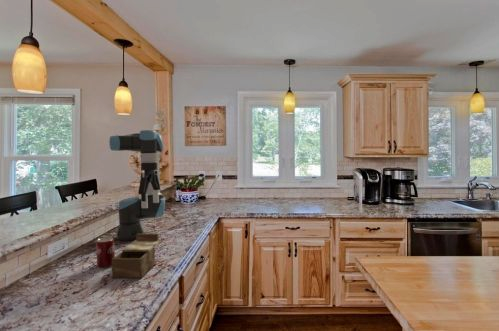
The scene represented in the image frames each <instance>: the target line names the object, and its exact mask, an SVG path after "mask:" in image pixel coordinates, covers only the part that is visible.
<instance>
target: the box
mask: <svg viewBox="0 0 499 331" xmlns="http://www.w3.org/2000/svg"><path fill="white" fill-rule="evenodd" d="M155 254H156V253H155V247H154V248H152V249H151V250H150V251H149V252H122V251H121V252H119V253H118V254H116V255H115V257H114V258H113V259H112V267H111V270H112V271H111V272H112V274H111V275H112V279H116V280H117V279H120V280H121V279H124V280H125V279H127V280H130V279H131V280H134V279H135V280H136V279H137V280H138V279H139V280H142V279H143V278H144V277H145V276H146V275H147V274H148V273H149V272H150V271H151V270H152V269H153V268H154V267H155V266H156V261H155V260H156V259H155V258H156V257H155V256H156V255H155Z"/></svg>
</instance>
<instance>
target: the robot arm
mask: <svg viewBox="0 0 499 331" xmlns="http://www.w3.org/2000/svg"><path fill="white" fill-rule="evenodd" d="M108 140H109V149H110V150H111V151H115V152H117V151H118V152H119V151H121V152H122V151H128V152H129V151H130V152H137V153H139V152H140V155H139V158H140V162H141V163H140V170H141V171H143V172H141V173H140V181H139V186H138V187H139V188H138V192H137V193H138V195H140V197H138V196H136V197H135V196H133V197H127V198H124V199H122V200H120V201H119V202H118V209H117V210H118V222H119V223H118V224H119V226H118V229H117V232H116V240H118V241H133V240H134V241H135V240H136V234H145V233H144V232H145V231H144V229H143V227H142V224H141V219H157V218H162V217H164V216H165V206H166V197H164V195H163V193H161V181H160V180H161V178H160V176H161V175H160V174H161V173H160V156H161V154H162V152H163V151H164V145H163V144H164V143H163V139H162V135H161V134H160V133H157V132H156V130H154V129H153V130H151V129H148V130H147V129H144V130H140V131H139V133H130V134H125V135H118V134H117V135H111V136H110V137H109V139H108Z"/></svg>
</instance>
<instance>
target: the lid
mask: <svg viewBox="0 0 499 331" xmlns="http://www.w3.org/2000/svg"><path fill="white" fill-rule="evenodd" d="M161 242H162V240H161V239H159V233H144V234H136V239H134V241H132V242H131V243H129V244H127V245H126V246H125V247H123V248H122V249H121V252H149V251H150V250H151V249H152V248H154V249H155V247H156V246H157V245H159V244H160V243H161Z"/></svg>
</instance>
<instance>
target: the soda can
mask: <svg viewBox="0 0 499 331" xmlns="http://www.w3.org/2000/svg"><path fill="white" fill-rule="evenodd" d="M95 247H96V263H97V264H96V267H97V268H98V269H100V270H103V269H109V268H112V259H113V258H114V257H116V255H115V254H116V251H115V250H116V248H115V239H114V238H113V237H110V236H109V237H102V238H98V239H97V240H96V242H95Z"/></svg>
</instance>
